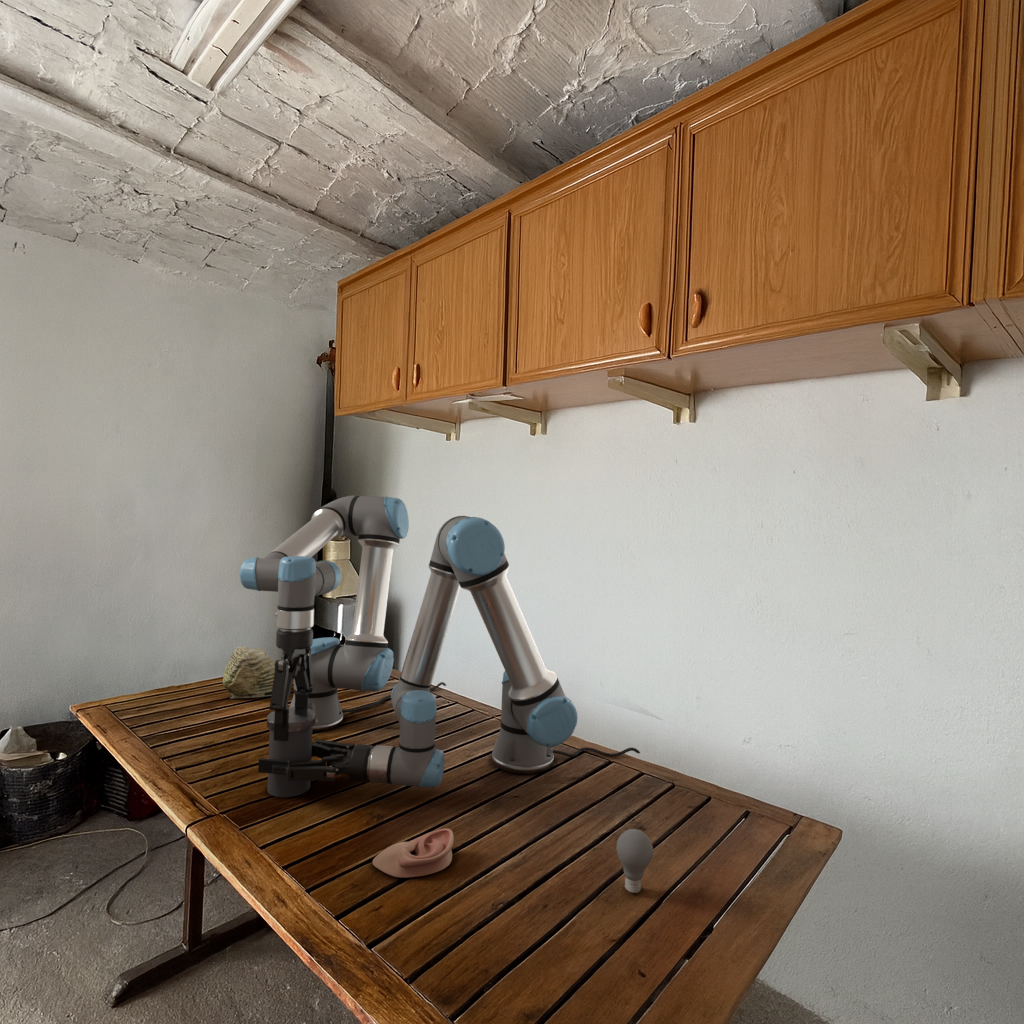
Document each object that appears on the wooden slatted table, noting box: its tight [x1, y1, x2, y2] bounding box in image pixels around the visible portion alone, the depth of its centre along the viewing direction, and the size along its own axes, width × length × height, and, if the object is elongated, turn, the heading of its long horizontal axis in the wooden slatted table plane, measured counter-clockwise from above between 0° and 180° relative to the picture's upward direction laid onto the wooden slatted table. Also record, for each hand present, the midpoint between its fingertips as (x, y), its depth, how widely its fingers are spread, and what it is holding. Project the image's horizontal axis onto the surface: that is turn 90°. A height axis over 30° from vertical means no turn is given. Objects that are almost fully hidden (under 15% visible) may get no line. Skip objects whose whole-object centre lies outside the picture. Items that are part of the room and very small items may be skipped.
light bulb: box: [615, 828, 654, 894], centre depth 106 cm, size 6×6×10 cm
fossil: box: [222, 646, 275, 699], centre depth 198 cm, size 9×18×15 cm, turn 132°
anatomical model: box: [372, 828, 455, 879], centre depth 112 cm, size 13×4×12 cm
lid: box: [266, 707, 316, 733], centre depth 137 cm, size 10×10×2 cm
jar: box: [266, 727, 313, 798], centre depth 137 cm, size 9×9×16 cm
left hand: (291, 731), depth 137 cm, fingers closed on lid, 10 cm apart
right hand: (269, 756), depth 137 cm, fingers closed on jar, 9 cm apart
